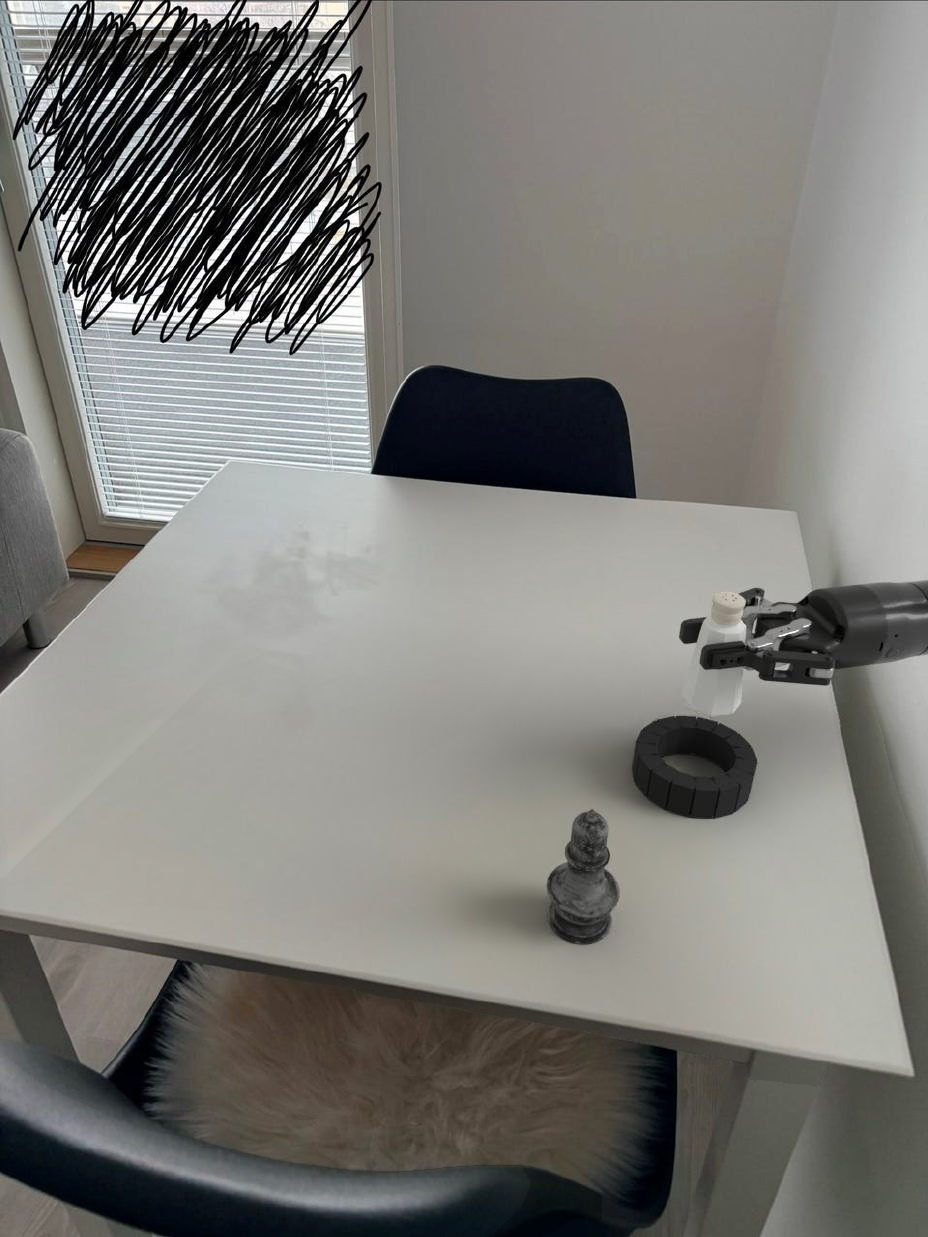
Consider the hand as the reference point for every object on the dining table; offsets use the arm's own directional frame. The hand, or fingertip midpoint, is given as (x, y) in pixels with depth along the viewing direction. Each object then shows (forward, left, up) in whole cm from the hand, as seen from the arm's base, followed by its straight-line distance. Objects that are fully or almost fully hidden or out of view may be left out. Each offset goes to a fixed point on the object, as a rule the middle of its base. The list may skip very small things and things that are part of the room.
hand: (692, 644), depth 78 cm
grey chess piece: (-5, +19, -17) cm, 26 cm away
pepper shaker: (-1, -3, -7) cm, 7 cm away
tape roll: (-1, -3, -17) cm, 17 cm away
